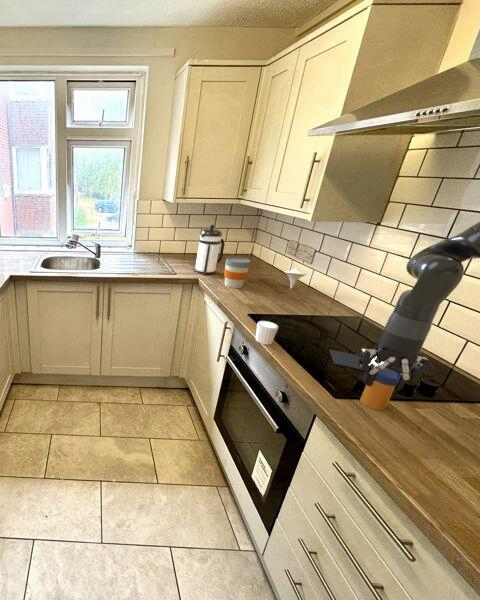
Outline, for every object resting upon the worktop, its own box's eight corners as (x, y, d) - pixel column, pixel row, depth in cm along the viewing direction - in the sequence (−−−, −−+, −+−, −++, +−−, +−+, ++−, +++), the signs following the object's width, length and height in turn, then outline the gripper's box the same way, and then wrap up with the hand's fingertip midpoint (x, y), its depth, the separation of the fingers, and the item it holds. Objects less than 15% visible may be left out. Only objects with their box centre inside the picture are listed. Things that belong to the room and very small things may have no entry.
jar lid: (396, 388, 81) (399, 381, 80) (367, 377, 85) (370, 371, 84) (399, 379, 84) (402, 373, 84) (371, 369, 88) (374, 363, 88)
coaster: (329, 350, 114) (329, 349, 114) (364, 358, 109) (365, 356, 109) (333, 364, 106) (334, 363, 105) (372, 373, 101) (372, 371, 101)
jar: (375, 397, 90) (387, 369, 86) (390, 410, 85) (404, 381, 82) (355, 396, 91) (366, 368, 87) (369, 409, 86) (382, 380, 82)
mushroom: (278, 284, 180) (283, 264, 175) (300, 287, 176) (306, 266, 171) (281, 290, 171) (286, 269, 167) (304, 293, 167) (310, 271, 163)
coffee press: (218, 277, 191) (227, 227, 180) (190, 273, 198) (198, 225, 186) (219, 270, 206) (228, 223, 195) (194, 266, 212) (201, 221, 201)
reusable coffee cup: (234, 281, 185) (239, 256, 180) (250, 288, 174) (256, 261, 169) (216, 282, 182) (221, 257, 177) (231, 290, 171) (236, 263, 165)
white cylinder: (273, 347, 116) (278, 330, 113) (252, 342, 119) (256, 325, 116) (274, 339, 121) (279, 323, 118) (254, 334, 124) (258, 318, 122)
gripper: (377, 333, 78) (354, 389, 84) (453, 343, 74) (423, 401, 80) (363, 320, 84) (343, 373, 91) (432, 329, 80) (406, 384, 86)
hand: (380, 386), depth 85 cm, fingers closed on jar lid, 5 cm apart
